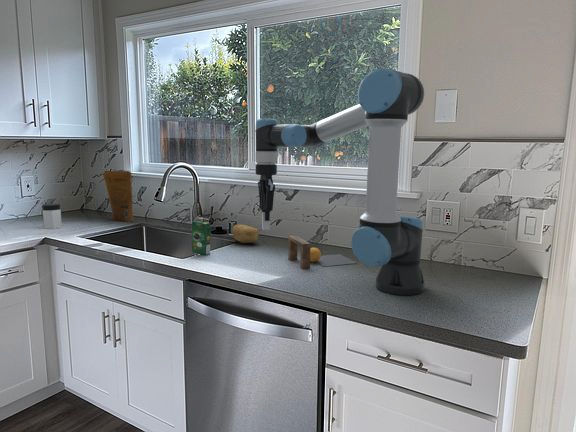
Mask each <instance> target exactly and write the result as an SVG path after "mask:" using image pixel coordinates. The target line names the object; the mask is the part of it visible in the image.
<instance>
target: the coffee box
mask: <svg viewBox="0 0 576 432" xmlns="http://www.w3.org/2000/svg"><path fill="white" fill-rule="evenodd" d="M191 247H192V248H191V250H192V251H191V252H192V253H194V254H199V255H203V256H209V255H211V222H206V221H200V220H192V221H191Z"/></svg>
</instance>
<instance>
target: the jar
mask: <svg viewBox="0 0 576 432" xmlns="http://www.w3.org/2000/svg"><path fill="white" fill-rule="evenodd" d="M41 210H42V211H41V212H42V222H43V229H44V230H55V229H60V228H62V227H63V225H62V212H61V211H62V210H61V204H60V203H57V202H56V203H54V202H53V203H51V202H50V203H43V204H42V205H41Z"/></svg>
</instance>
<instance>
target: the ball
mask: <svg viewBox="0 0 576 432" xmlns="http://www.w3.org/2000/svg"><path fill="white" fill-rule="evenodd" d="M321 256H322V252H321V251H320V249H319V248H317V247H310V263H311V262H312V263H317V261H318V260H319V259H320V257H321Z"/></svg>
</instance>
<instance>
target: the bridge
mask: <svg viewBox="0 0 576 432" xmlns="http://www.w3.org/2000/svg"><path fill="white" fill-rule="evenodd" d="M287 241H288V243H287V244H288V247H287V248H288V252H287V254H288V257H287V259H288V261H296V260H297V261H298V246H299V247H300V260H299V261H300V262H299V263H300V265H299V266H300V268H301V270H306V269H311V261H310V248H312V247H311V246H312V245H311V242H308V241H307V240H305V239H303V238H301V237H299V236H298V235H296V234H295V235H288V240H287Z"/></svg>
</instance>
